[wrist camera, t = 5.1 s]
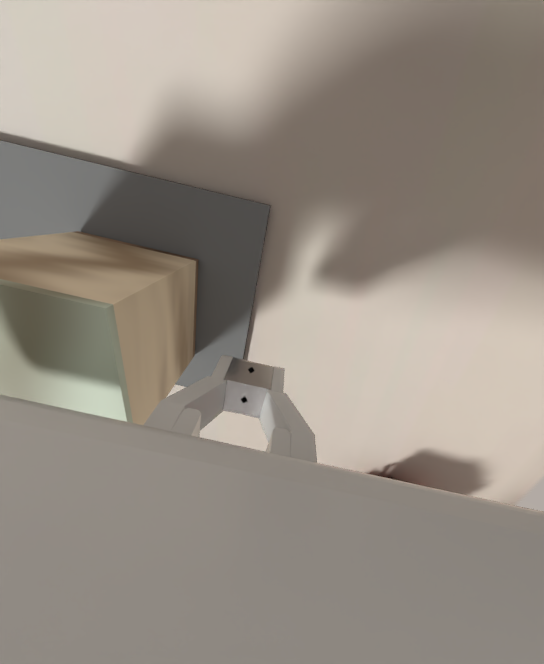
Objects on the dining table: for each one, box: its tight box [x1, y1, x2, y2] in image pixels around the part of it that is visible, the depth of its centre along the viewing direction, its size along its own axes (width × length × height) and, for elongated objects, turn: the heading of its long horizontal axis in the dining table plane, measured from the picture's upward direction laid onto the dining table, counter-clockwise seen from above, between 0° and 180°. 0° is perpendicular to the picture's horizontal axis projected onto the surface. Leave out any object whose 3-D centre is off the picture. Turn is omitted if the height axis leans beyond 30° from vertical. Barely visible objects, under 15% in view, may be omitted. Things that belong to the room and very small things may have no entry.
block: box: [0, 231, 199, 425], centre depth 11 cm, size 7×7×7 cm
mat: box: [0, 140, 270, 387], centre depth 15 cm, size 28×14×1 cm, turn 78°
